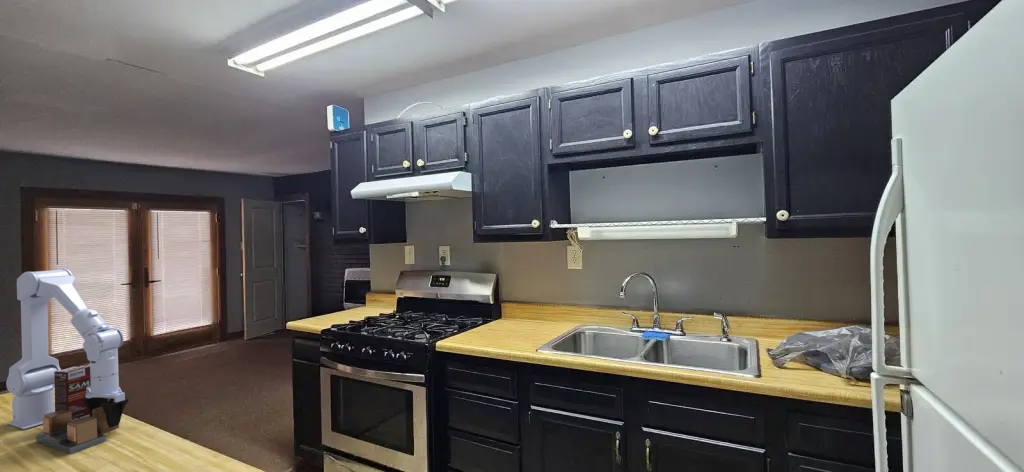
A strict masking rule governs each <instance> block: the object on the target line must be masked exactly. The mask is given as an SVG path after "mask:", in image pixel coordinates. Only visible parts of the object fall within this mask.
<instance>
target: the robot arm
mask: <svg viewBox="0 0 1024 472" xmlns="http://www.w3.org/2000/svg"><path fill="white" fill-rule="evenodd" d="M75 285H76V278H75V277H74V274H73V273H72V271H71V270H69V269H68V268H60V269H52V270H39V271H38V270H37V271H25V272H23V273H21V275H20V276H19V277H18V278H17V279H16V297H17V300H18V301H19V302H20V319H21V320H20V323H21V325H20V326H21V359H20V360H18V361H17V362H16V363H14V364H13V365H11V366H10V367H9V369H8V370H9V371H8V376H7V379H6V383H5V384H6V386H5V387H6V389H7V391H8V392H9V393H10V394H12V395H13V398H12V402H11V404H12V406H11V407H12V409H11V410H12V420H11V421H9V422H7V423H8V425H10V426H13V427H16V428H19V429H22V430H27V429H30V428H34V427H38V426H40V425H43V417H44V415H45V414H48V413H52V412H55V393H54V389H55V378H54V372H55V371H59V370H62V368H61V367H60V364H59V359H58V358H55V357H52V356H50V355H49V318H48V314H49V313H48V312H49V311H48V310H49V308H48V303H49V301H51V299H53V298H54V299H55V300H56V301H57V302H58V303H59V304H60V305H61V306H62V307H64V309H65V310H66V311H67V312H68V313H69V314H70V315H71V316H72V317H71V319H70V323H71V325H72V326H73V327H74V328H75V330H76V331H77V332H78V334H79V335H80V336H81V337H82V339H83V340H84V342H83V343H82V347H83V350H84V352H85V353H86V359H87V361H89V363H90V378H91V387H89V388H86V394H87V395H86V398H84V399H82V402H83V403H84V404H85V405H86V406H87V408H88V410H89V412H90V415H91V417H92V410H93V409H96V408H99V407H102V408H103V410H104V412H105V414H106V418H107V424H108V426H109V427H110V428H111V427H114V426H117V425H119V426H120V424H121V423H120V422H121V419H122V416H123V412H124V410H125V407H126V405H127V404H128V402H129V399H130V398H129V397H126V394H125V392H123V391H122V389H121V387H120V382H119V381H120V380H119V351H118V350H119V349H120V348H121V347H122V346H123V343H124V335H123V334H122V332H121V330H120V329H119V328H117V327H113V326H112V325H108V323H107V322H106V321H105V320H104V319H103V317H102V316H101V314H99V313H98V311H97V310H96V309H92V308H88V307H87V305H86V303H85V302H84V300H83V299H82V297H81V295H80V294H79V292H78V291H77V290H76V287H75Z"/></svg>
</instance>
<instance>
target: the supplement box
mask: <svg viewBox="0 0 1024 472" xmlns="http://www.w3.org/2000/svg"><path fill="white" fill-rule="evenodd" d="M54 378H55V387H54V412H55V411H59V410H62V409H65V410H69V411H72V421H74V420H77V419H80V418H84V417H87V416H90V417H91V415H90V412H89V410H88V408H87V406H86V405H85V404H84V403H83V402H82V399H84V398H86V395H87V394H86V388H89V387H91V378H90V362H86V363H82V364H79V365H76V366H71V367H68V368H65V369H61V370H59V371H55V372H54Z"/></svg>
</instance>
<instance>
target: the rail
mask: <svg viewBox="0 0 1024 472" xmlns="http://www.w3.org/2000/svg"><path fill="white" fill-rule="evenodd" d="M42 432H44V433H40V434H39V435H36V436H35V442H36V443H38V444H40V445H43V446H46V447H50V448H53V449H54V450H58V451H60V452H63V453H66V454H68V455H72V454H74V453H77V452H81V451H82V450H85V449H88V448H91V447H93V446H96V445H100V444H101V443H104V442H106V441H107V439H106V438H107V436H106V434H104V433H103V434H100V433H97V419H96V418H93V417H90V416H87V417H84V418H80V419H77V420H74V421H72V411H69V410H65V409H62V410H59V411H55V410H54V412H52V413H48V414H45V415H44V417H43V424H42Z"/></svg>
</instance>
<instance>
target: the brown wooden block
mask: <svg viewBox="0 0 1024 472" xmlns="http://www.w3.org/2000/svg"><path fill="white" fill-rule="evenodd" d="M92 417H93V418H96V419H97V433H100V434H103V435H104V434H105V433H108V432H111V431H113V430H117V429H120V424H119V425H117V426H114V427H111V428H110V427H109V426H108V424H107V418H106V414H105V412H104V410H103V408H102V407H99V408H96V409H93V410H92Z"/></svg>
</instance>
